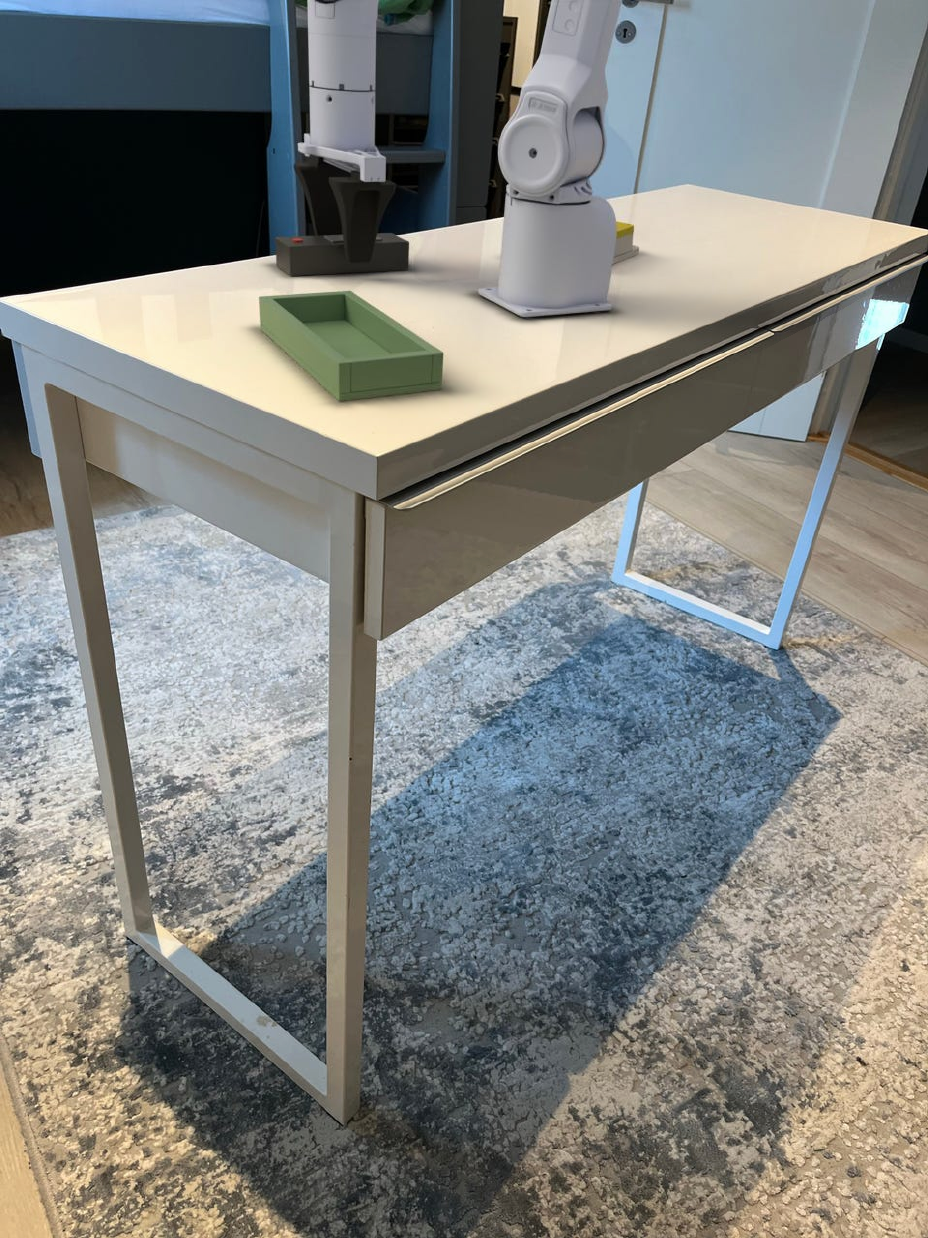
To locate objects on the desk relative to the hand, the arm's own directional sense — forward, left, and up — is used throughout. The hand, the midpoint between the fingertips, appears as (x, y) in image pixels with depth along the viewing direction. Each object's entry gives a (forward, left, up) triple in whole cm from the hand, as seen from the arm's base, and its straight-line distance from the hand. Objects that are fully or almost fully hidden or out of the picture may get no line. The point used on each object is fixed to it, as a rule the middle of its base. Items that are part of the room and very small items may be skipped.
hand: (343, 252), depth 88 cm
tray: (+10, +25, -1) cm, 27 cm away
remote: (0, 0, -1) cm, 1 cm away
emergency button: (-27, 0, -2) cm, 27 cm away
